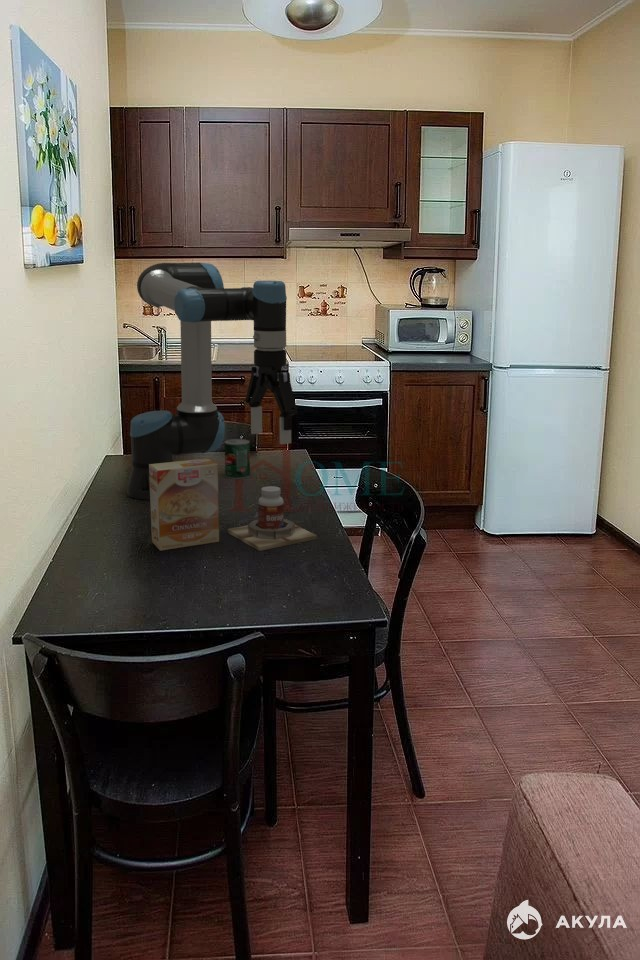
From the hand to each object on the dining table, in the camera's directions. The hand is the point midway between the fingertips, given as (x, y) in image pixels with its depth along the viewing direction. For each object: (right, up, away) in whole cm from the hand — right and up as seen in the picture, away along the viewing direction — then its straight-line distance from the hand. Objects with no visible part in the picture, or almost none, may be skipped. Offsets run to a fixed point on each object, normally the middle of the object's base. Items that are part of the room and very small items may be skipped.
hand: (270, 438), depth 202 cm
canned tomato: (-14, -9, +63) cm, 66 cm away
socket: (0, -24, +6) cm, 25 cm away
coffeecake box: (-20, -25, +1) cm, 32 cm away
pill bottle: (0, -23, +6) cm, 24 cm away
